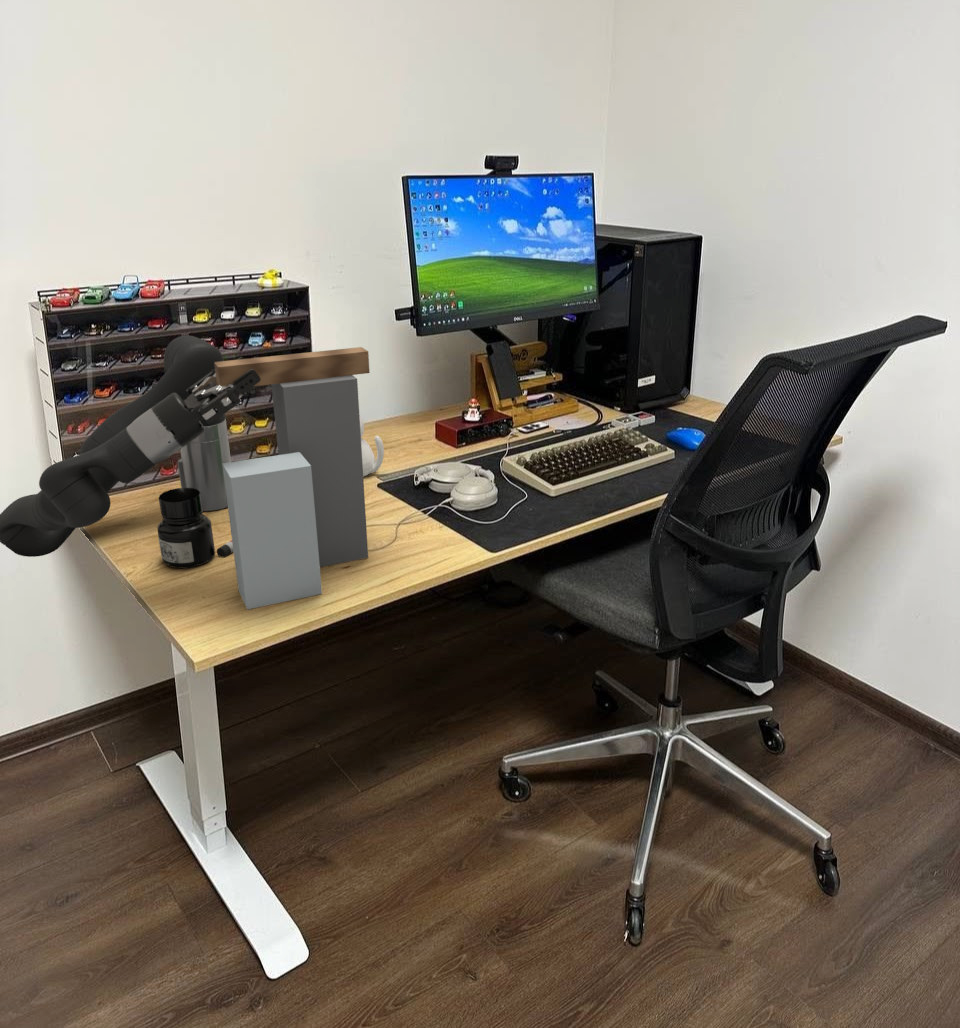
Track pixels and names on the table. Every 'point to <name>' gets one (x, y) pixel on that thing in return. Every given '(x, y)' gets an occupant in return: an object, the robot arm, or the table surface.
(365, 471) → the cat figurine
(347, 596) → the table surface
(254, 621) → the table surface
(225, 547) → the marker
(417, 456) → the table surface
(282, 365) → the walnut bar
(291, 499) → the blue-grey step
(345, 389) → the charcoal stand
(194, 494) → the ink bottle
